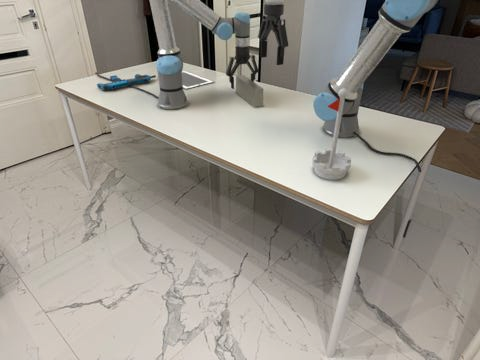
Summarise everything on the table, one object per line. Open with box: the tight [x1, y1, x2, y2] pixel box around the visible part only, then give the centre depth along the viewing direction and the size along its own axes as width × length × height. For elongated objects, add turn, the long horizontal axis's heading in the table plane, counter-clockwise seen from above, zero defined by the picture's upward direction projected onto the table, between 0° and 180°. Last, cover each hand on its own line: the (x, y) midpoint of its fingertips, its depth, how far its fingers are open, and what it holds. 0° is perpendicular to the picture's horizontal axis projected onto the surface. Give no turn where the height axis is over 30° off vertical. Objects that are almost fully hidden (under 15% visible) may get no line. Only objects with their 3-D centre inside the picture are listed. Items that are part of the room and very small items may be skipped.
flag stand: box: [312, 88, 352, 181], centre depth 113 cm, size 13×13×30 cm
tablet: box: [182, 70, 214, 90], centre depth 213 cm, size 32×20×1 cm, turn 41°
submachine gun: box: [96, 73, 157, 92], centre depth 207 cm, size 34×4×25 cm
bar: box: [235, 74, 264, 108], centre depth 182 cm, size 26×5×9 cm, turn 22°
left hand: (242, 86), depth 189 cm, fingers open, 11 cm apart
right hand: (271, 60), depth 141 cm, fingers open, 13 cm apart
